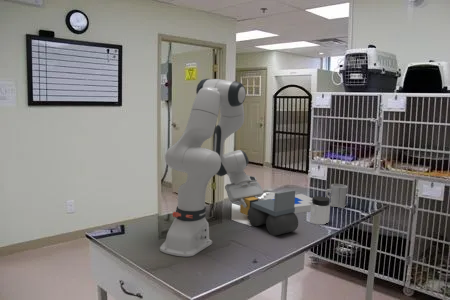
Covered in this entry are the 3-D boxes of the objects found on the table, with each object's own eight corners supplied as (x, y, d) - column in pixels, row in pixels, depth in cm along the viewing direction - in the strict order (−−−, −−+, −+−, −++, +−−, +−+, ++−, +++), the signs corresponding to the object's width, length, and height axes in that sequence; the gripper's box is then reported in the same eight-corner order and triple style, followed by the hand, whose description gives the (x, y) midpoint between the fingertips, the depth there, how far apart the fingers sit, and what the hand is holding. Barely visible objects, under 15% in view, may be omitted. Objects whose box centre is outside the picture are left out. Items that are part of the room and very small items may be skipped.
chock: (240, 212, 177) (240, 196, 176) (248, 210, 180) (249, 195, 179) (249, 216, 172) (249, 200, 170) (257, 214, 175) (258, 198, 174)
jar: (307, 219, 177) (308, 196, 175) (321, 218, 179) (323, 195, 177) (316, 225, 168) (318, 201, 166) (331, 224, 171) (333, 200, 169)
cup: (334, 209, 195) (336, 188, 193) (323, 204, 203) (325, 184, 202) (349, 207, 199) (351, 186, 198) (338, 203, 208) (339, 183, 206)
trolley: (298, 233, 158) (301, 191, 155) (279, 238, 151) (281, 195, 148) (265, 218, 175) (267, 181, 173) (246, 223, 168) (248, 184, 166)
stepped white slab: (324, 203, 193) (281, 208, 181) (323, 210, 194) (280, 216, 182) (293, 190, 218) (254, 194, 206) (293, 196, 219) (253, 200, 207)
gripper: (226, 181, 172) (238, 206, 166) (258, 176, 184) (270, 199, 178) (220, 188, 176) (232, 212, 170) (252, 183, 188) (263, 206, 182)
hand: (251, 206), depth 174 cm, fingers closed on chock, 5 cm apart
